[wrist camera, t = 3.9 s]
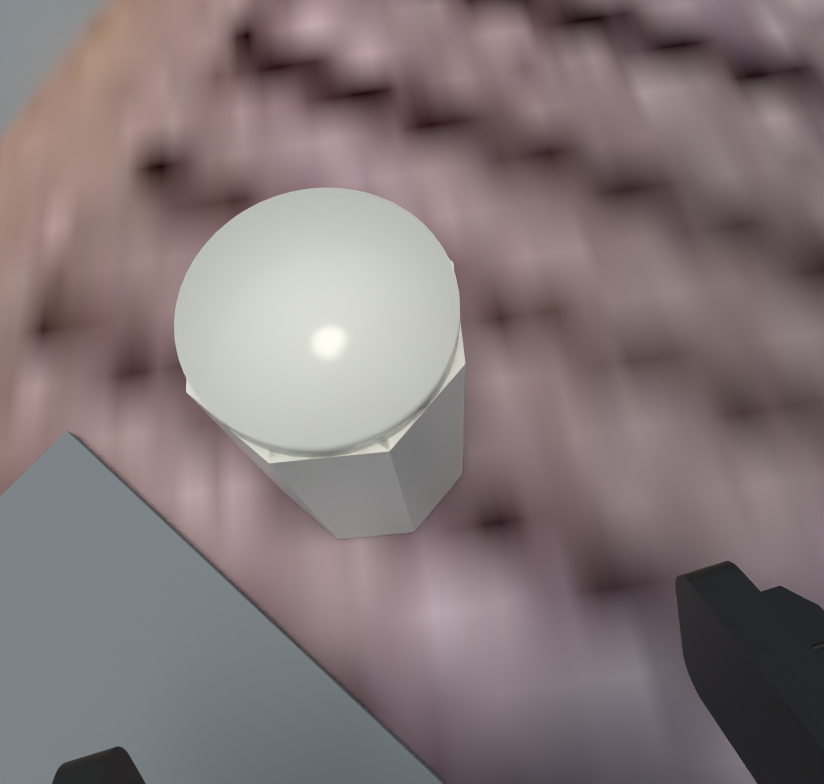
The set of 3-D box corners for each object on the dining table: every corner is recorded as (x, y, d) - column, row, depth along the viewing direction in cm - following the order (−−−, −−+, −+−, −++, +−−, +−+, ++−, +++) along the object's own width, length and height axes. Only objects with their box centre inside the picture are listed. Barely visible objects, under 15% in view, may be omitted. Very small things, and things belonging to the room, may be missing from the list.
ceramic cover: (362, 334, 26) (308, 143, 16) (495, 435, 24) (518, 287, 15) (246, 459, 24) (115, 329, 15) (379, 574, 23) (324, 508, 14)
